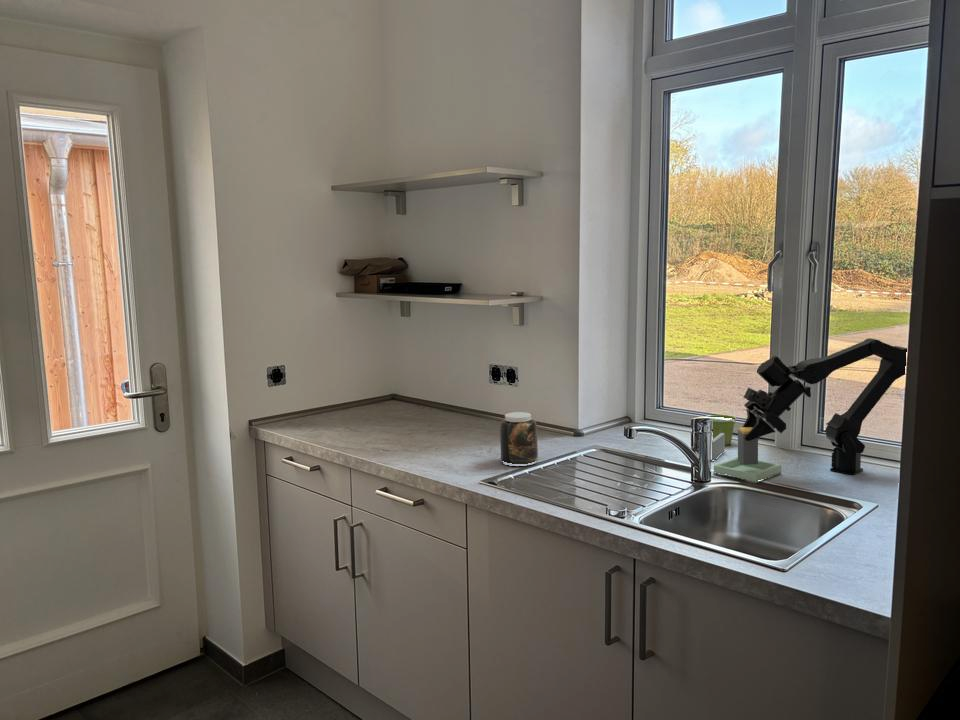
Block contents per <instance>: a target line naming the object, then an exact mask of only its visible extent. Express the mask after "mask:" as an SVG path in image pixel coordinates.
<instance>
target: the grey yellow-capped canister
mask: <svg viewBox="0 0 960 720" xmlns="http://www.w3.org/2000/svg"><path fill="white" fill-rule="evenodd" d="M752 428H753V427H743V426H741V427H737V457H738V461H739V462H741V463H742V464H743V465H756V464H758V460H759V437H758V438H755V439H753V440H750V441H746V440H745V437H746V436H747V434H748V433H749V432H750V431H751V429H752Z"/></svg>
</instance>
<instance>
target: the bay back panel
mask: <svg viewBox="0 0 960 720" xmlns="http://www.w3.org/2000/svg"><path fill="white" fill-rule="evenodd" d="M725 448H726V446H725V433H720V434H719V435H718V436H716V437H715V438H714V439H713V440H712V460H715V459H716V458H717V457H718V456H719V455H720V454H721V453H723V452H724V451H725V450H726V449H725ZM725 452H726V451H725ZM725 452H724V453H725ZM724 453H723V454H724ZM718 458H719V457H718ZM718 458H717V459H718ZM717 459H716V460H717ZM716 460H715V461H716Z"/></svg>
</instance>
